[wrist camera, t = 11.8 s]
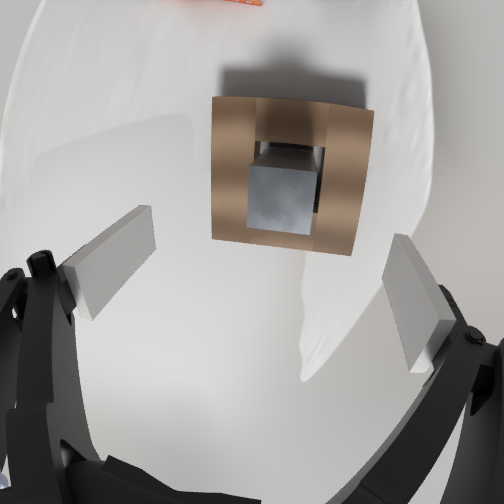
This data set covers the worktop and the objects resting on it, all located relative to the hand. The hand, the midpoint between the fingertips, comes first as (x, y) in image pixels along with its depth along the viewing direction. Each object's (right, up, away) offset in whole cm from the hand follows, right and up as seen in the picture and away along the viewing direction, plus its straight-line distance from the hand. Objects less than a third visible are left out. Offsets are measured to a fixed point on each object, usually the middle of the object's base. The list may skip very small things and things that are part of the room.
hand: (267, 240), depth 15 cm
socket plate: (+4, +9, +17) cm, 19 cm away
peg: (+4, +9, +17) cm, 20 cm away
